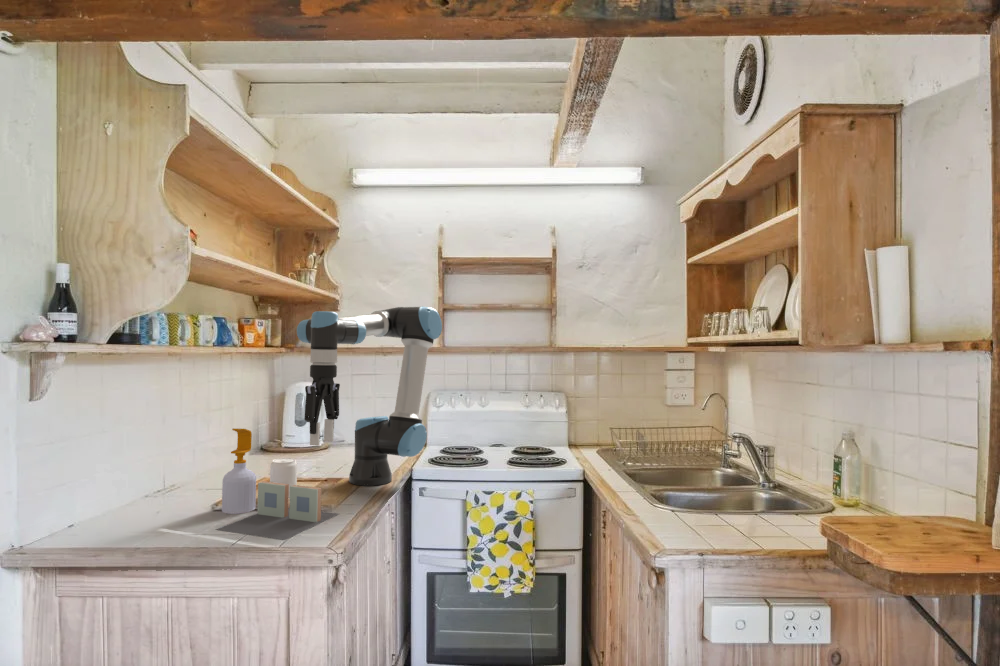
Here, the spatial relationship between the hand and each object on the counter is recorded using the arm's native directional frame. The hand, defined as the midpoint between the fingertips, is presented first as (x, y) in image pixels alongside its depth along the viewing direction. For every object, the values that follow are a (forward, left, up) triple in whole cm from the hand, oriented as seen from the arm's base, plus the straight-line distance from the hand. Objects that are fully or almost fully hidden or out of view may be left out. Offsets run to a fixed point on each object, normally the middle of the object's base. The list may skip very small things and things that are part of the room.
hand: (321, 442), depth 171 cm
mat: (+11, -5, -21) cm, 24 cm away
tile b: (+7, -11, -20) cm, 24 cm away
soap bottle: (+6, -24, -21) cm, 33 cm away
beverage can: (-11, -22, -21) cm, 32 cm away
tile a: (+7, 0, -20) cm, 21 cm away
